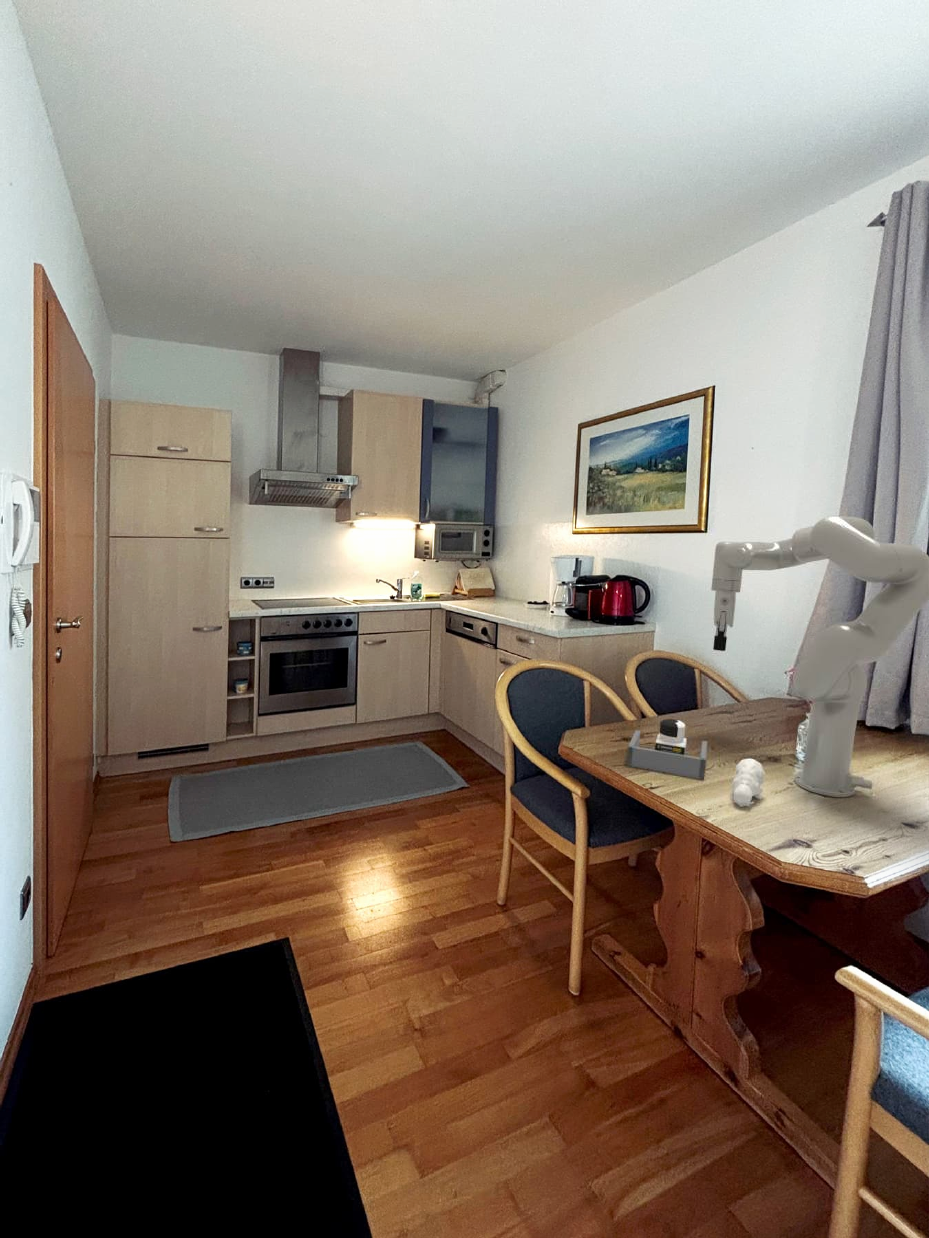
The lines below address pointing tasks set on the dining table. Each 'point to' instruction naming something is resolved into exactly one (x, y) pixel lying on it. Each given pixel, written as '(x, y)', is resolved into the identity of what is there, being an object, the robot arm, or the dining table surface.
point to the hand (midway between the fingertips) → (719, 649)
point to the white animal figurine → (747, 781)
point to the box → (666, 760)
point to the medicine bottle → (671, 737)
